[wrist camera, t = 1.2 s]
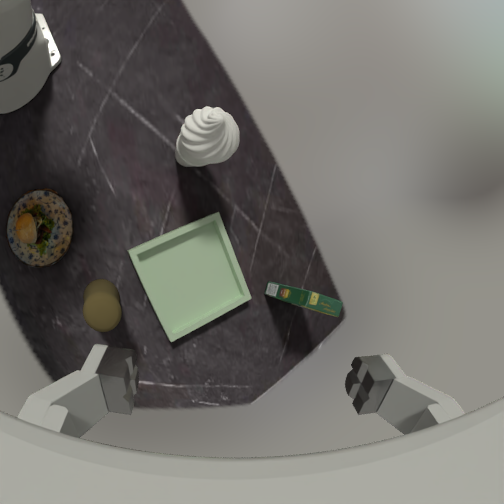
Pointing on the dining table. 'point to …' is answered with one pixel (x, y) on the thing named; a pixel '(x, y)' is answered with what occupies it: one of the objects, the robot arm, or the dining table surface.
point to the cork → (101, 305)
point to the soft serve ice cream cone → (207, 138)
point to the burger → (39, 228)
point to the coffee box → (304, 298)
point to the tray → (190, 275)
